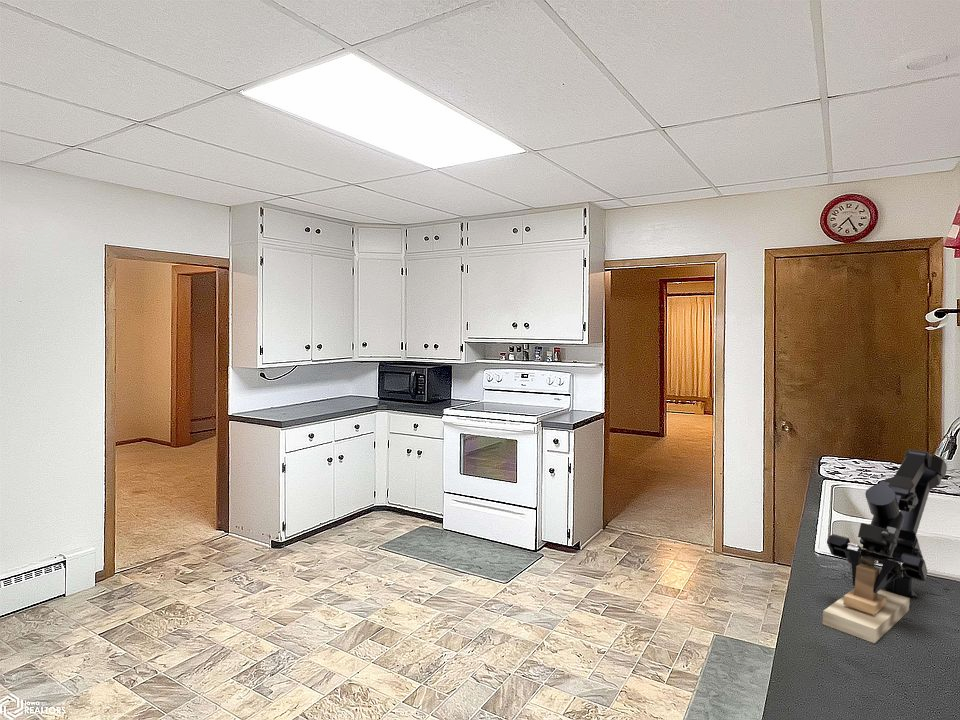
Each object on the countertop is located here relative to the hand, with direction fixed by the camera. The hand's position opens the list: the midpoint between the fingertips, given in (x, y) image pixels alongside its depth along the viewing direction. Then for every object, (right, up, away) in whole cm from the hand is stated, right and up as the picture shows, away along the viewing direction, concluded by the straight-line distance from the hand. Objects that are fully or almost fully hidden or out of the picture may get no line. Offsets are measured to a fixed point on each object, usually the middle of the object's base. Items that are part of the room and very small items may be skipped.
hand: (864, 588), depth 134 cm
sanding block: (+1, -4, +1) cm, 4 cm away
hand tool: (+23, -7, +36) cm, 43 cm away
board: (+2, -7, +3) cm, 8 cm away
